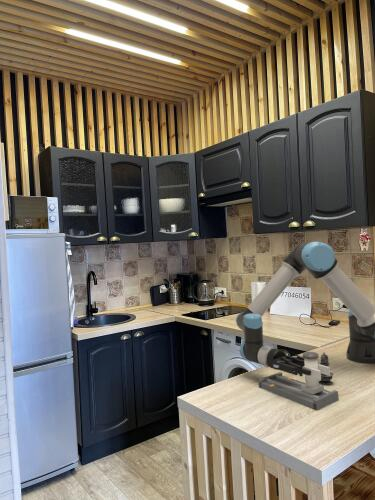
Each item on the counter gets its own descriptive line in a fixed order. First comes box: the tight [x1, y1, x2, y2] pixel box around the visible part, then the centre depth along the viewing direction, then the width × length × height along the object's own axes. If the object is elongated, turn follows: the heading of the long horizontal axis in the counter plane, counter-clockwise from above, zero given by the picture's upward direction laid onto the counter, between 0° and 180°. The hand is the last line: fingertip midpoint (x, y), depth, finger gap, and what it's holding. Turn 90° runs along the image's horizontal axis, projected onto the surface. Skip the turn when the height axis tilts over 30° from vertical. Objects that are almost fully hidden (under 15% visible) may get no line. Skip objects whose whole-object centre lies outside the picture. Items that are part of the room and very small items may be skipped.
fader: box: [301, 351, 325, 395], centre depth 126 cm, size 6×5×13 cm
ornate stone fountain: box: [319, 351, 334, 387], centre depth 140 cm, size 6×6×12 cm
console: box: [258, 371, 340, 411], centre depth 132 cm, size 12×26×3 cm, turn 34°
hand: (324, 373), depth 121 cm, fingers closed on fader, 4 cm apart
